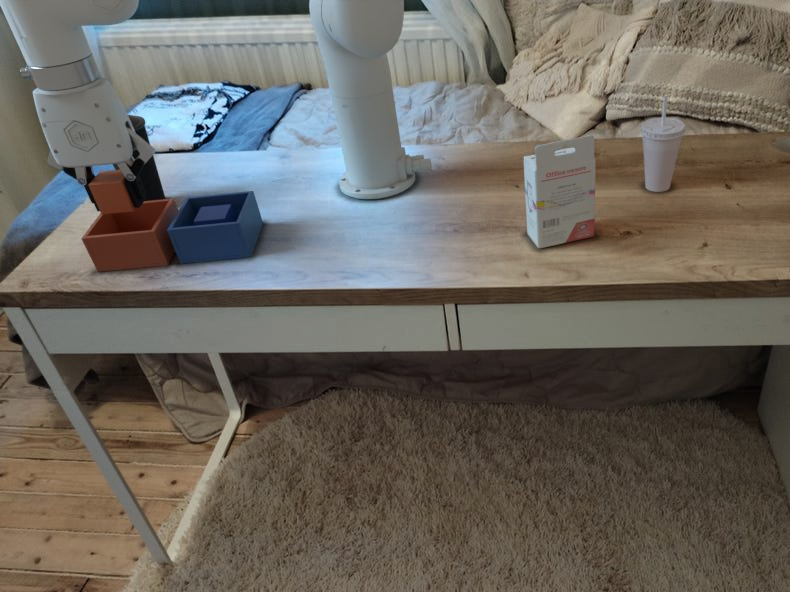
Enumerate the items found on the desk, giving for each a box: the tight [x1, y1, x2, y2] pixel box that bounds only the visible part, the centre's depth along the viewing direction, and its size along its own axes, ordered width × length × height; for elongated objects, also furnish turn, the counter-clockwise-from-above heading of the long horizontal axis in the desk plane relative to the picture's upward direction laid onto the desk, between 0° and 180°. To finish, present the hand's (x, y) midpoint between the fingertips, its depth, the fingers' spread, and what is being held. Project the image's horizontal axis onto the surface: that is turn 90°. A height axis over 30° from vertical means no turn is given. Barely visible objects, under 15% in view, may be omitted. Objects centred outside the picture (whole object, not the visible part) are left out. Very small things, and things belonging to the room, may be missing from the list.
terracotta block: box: [89, 169, 135, 214], centre depth 99 cm, size 4×4×4 cm
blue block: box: [194, 204, 237, 226], centre depth 104 cm, size 4×4×4 cm
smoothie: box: [639, 95, 686, 193], centre depth 105 cm, size 6×6×14 cm
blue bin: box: [167, 190, 264, 265], centre depth 104 cm, size 10×10×6 cm
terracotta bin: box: [81, 198, 179, 273], centre depth 104 cm, size 10×10×6 cm
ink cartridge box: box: [523, 134, 597, 249], centre depth 95 cm, size 9×5×15 cm, turn 106°
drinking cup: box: [112, 114, 167, 201], centre depth 111 cm, size 8×8×20 cm
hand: (121, 204), depth 101 cm, fingers closed on terracotta block, 4 cm apart
